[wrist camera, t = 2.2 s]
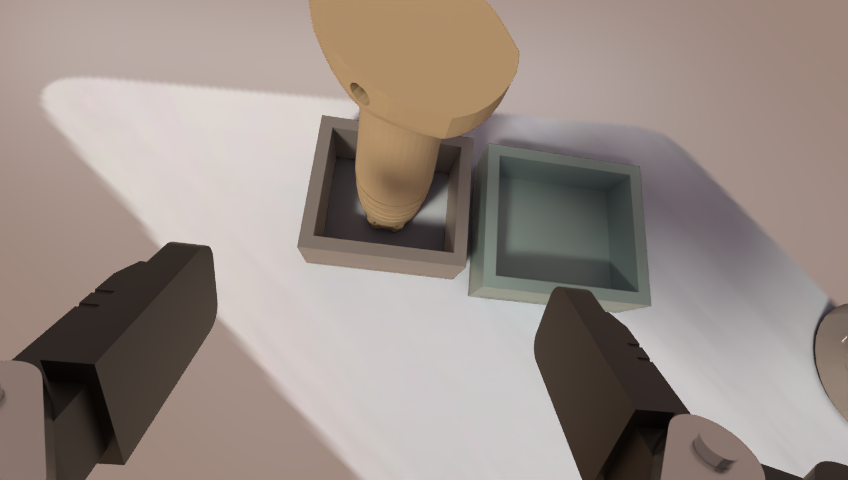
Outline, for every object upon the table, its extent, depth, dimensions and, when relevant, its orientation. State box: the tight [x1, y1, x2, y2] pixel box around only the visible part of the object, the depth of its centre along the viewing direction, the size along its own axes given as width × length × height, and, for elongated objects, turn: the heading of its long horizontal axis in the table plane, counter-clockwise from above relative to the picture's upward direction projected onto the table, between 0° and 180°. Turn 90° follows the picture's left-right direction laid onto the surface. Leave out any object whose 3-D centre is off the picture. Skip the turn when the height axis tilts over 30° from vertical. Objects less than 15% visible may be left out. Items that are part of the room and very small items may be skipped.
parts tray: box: [468, 143, 651, 313], centre depth 25 cm, size 10×9×3 cm
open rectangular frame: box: [297, 115, 473, 279], centre depth 24 cm, size 9×8×4 cm
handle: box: [309, 0, 519, 232], centre depth 19 cm, size 5×6×15 cm
